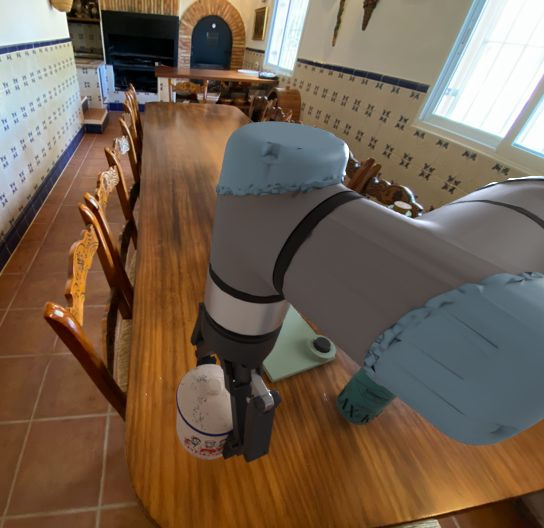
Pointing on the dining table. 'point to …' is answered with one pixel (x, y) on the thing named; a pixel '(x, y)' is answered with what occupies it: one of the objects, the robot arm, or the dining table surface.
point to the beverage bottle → (363, 399)
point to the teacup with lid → (203, 412)
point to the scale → (295, 349)
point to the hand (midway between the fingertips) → (216, 415)
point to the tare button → (322, 344)
